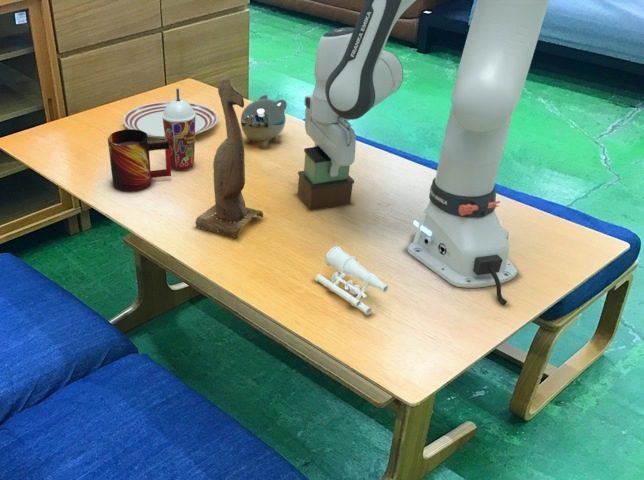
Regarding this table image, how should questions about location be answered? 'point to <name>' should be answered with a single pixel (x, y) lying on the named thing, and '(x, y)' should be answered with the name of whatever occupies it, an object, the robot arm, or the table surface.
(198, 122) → the dinner plate
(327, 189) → the walnut box
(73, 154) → the table surface
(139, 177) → the mug
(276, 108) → the piggy bank
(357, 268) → the white tapered barrel part
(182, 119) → the smoothie
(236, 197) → the bird sculpture
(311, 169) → the green lidded box
